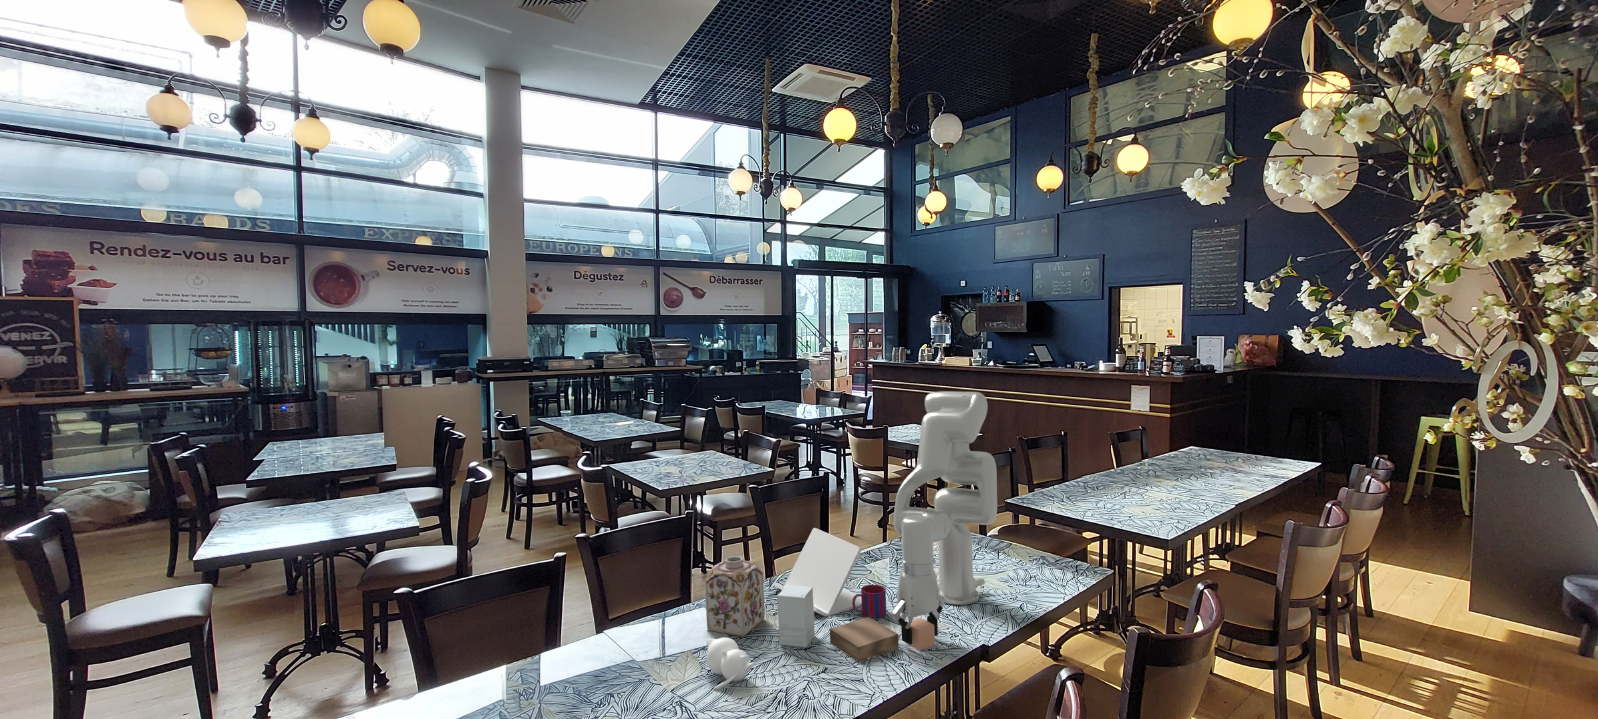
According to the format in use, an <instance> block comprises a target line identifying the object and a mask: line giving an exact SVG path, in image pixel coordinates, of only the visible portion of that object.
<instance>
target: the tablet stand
mask: <svg viewBox="0 0 1598 719" xmlns="http://www.w3.org/2000/svg"><path fill="white" fill-rule="evenodd" d="M861 552H862V548H861V547H860V546H859V545H856V544H854V543H851V542H849V541H847V540H844V539H842V538H839V537H837V536H835V535H833V534H830V533H828V532H826V531H823V530H821V529H819V528H817V527H813V528H812V530H811V532H810V534H809V536H808V537H807V540H806V542H805V544H804V546H803V547H802V549H801V552H800V553H799V556H798V558H797V559H796V561H795V564H794V565H793V568H792V569H791V571H790V573H789V576H788V577H787V579H786V581H785V583H784V585H783V584H781V583H779V582H776V581H774V582H773V586H774V587H776V588H777V589H780V590H781V591H782V590H783V589H784V588H785V587H786V586H787V585H792V586H804V587H813V606H814V613H815V612H816V614H819V615H821V616H824V617H829V616H832V615H836V614H839V613H843V612H846V611H850V610H853V609H854V608H853V605H852V600H853V597H854V596H855V595H856V594H857V593H854V592H852V591H850V590H848V589H847V588H845V585H846V583H847V581H848V579H849V577H850V576H851V573H852V571H853V568H854V566H855V564H856V562H857V561H858V559H859V556H860V554H861ZM855 607H856V609H858V608H860V607H861V608H862V600H861V596H858V597H857V598H856V600H855Z"/></svg>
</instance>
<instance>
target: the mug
mask: <svg viewBox="0 0 1598 719" xmlns="http://www.w3.org/2000/svg"><path fill="white" fill-rule="evenodd" d="M860 590H861V591H860V593H855V594H856V595H855V596H854V597H853V600H852V605H853V608H854V610H855V612H857V613H860V614H861V615H862V616H863V617H864V618H867V617H869V618H871V619H882V618H884V617H885V616H886V615H887V594H886V593H887V592H886V591H887V590H886V587H885V586H883V585H880V584H866V585H863V586H862V587H861V589H860ZM858 596H859V597H861V600H862V606H861V609H860V610H859V609H858V608H856V607H855V600H856V598H857V597H858Z"/></svg>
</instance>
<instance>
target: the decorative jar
mask: <svg viewBox="0 0 1598 719" xmlns="http://www.w3.org/2000/svg"><path fill="white" fill-rule="evenodd" d="M763 573H764V572H763V571H762V570H761V569H760V567H759V566H758V565H757V564H755V563H754V562H753V561H751V560H744V558H743V557H742V556H740V555H739V556H737V555H735V556H733V555H732V556H729V557H727V558H725V560H724V561H721V562H719V563H717V564H715V565H714V566H712V567H711V569H710V571H709V573H708V575H707V576H706V579H705V609H706V610H705V611H706V612H705V613H706V615H705V616H706V630H707V631H710V632H715V633H722V634H725V635H726V634H727V635H731V636H737V637H745V636H746V635H748V633H750V632H751V631H752V630H754V628H755V627H757V626H758V625H759V624H761V623H762V622H763V621H764V620H765V595H764V594H765V591H764V574H763Z"/></svg>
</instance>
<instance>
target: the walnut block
mask: <svg viewBox="0 0 1598 719" xmlns="http://www.w3.org/2000/svg"><path fill="white" fill-rule="evenodd" d="M829 643H830V644H831V645H833V647H835V646H836V647H835V648H837V649H838V648H839V649H838V650H840V651H841V650H842V651H841V652H843V653H844V652H845V653H844V654H846V655H847V654H848V655H847V656H849V655H850V656H851V657H852V658H851V657H850V656H849V657H850V658H851V659H853V658H854V659H855V660H854V659H853V660H854V661H856V660H857V661H858V662H857V661H856V662H857V663H861V662H864V661H867V660H869V659H868V658H870V659H873V658H875V657H874V656H876V657H879V656H882V655H885V654H887V653H890V652H893V651H896V650H899V633H898V632H895V631H893V630H892V629H891V628H888V627H887V626H885V625H884V624H881V623H880V622H878V621H876V620H874V618H869V617H864V618H861V619H857V620H854V621H850V622H848V623H844V624H841V625H837V626H834V627H831V628H829ZM881 654H882V655H881ZM878 655H879V656H878ZM872 657H873V658H872ZM866 659H867V660H866ZM863 660H864V661H863ZM860 661H861V662H860Z"/></svg>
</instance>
